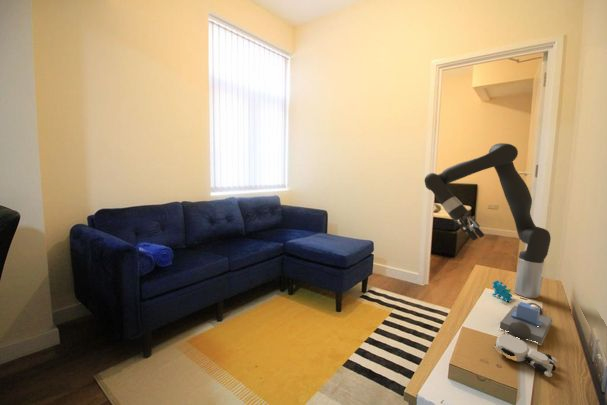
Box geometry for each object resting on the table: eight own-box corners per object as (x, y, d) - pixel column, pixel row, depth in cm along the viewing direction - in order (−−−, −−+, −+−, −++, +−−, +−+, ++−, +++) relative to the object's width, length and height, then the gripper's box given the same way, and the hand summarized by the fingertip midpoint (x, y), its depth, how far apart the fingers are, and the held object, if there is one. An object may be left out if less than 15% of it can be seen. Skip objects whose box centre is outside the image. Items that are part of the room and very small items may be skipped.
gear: (503, 301, 124) (491, 279, 130) (491, 305, 128) (480, 284, 134) (519, 301, 128) (506, 280, 134) (507, 305, 132) (496, 284, 138)
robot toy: (556, 367, 87) (500, 340, 98) (560, 354, 86) (503, 328, 97) (549, 387, 79) (488, 355, 90) (553, 373, 78) (491, 342, 89)
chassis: (498, 330, 104) (500, 315, 103) (514, 310, 119) (516, 297, 118) (539, 347, 95) (542, 331, 94) (551, 323, 110) (554, 309, 109)
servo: (510, 322, 109) (513, 301, 108) (512, 319, 111) (516, 298, 110) (540, 333, 102) (543, 310, 101) (542, 329, 105) (545, 307, 104)
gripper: (455, 204, 124) (481, 235, 117) (467, 202, 134) (492, 231, 127) (442, 214, 129) (466, 245, 122) (454, 212, 138) (477, 240, 131)
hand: (479, 238), depth 124 cm, fingers open, 8 cm apart
